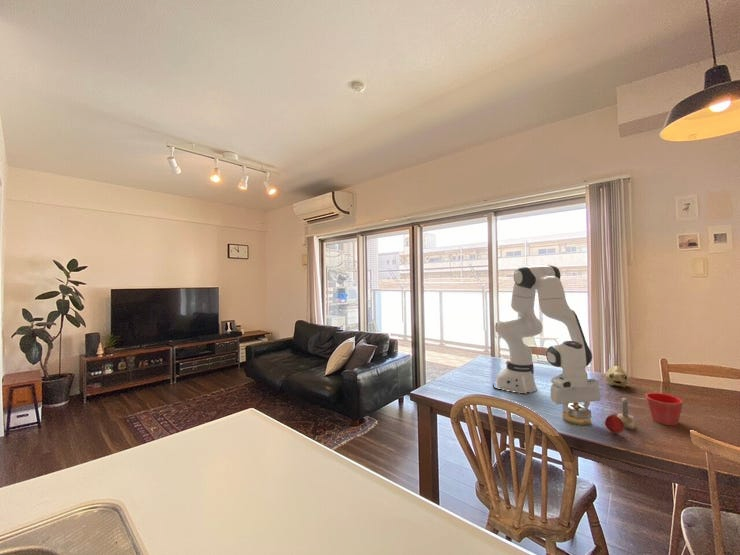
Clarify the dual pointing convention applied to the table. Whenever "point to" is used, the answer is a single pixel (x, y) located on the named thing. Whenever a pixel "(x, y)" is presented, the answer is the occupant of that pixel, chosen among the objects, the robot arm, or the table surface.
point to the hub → (573, 420)
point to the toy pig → (617, 376)
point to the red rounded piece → (614, 424)
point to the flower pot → (664, 408)
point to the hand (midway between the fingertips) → (576, 412)
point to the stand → (626, 415)
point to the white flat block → (579, 411)
